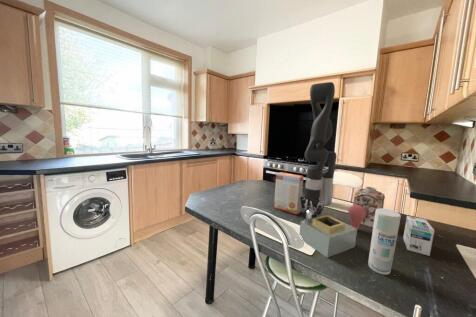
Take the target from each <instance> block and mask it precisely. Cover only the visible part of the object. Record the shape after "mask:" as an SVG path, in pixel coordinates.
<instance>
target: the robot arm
mask: <svg viewBox="0 0 476 317" xmlns="http://www.w3.org/2000/svg"><path fill="white" fill-rule="evenodd" d="M335 91H336V89H335V84H334V82H332V81H327V82H320V83H314V84H311V86H310V88H309V96H310V104H311V108H312V110H311V111H312V116H313V123H312V126H311V129H310V137H309V138H310V139H309V143H308V145H307V146H306V150H305V152H304V159H305V160H306V161H307V162H314V163H316V165H311V166H307V169H306V179H305V182H304V195H302V197H300V199H301V209H303V210H304V214H303V216H304V218H305V219H306V211H307V209H311V210H312V218H314V217H318V216H320V215H321V214H322V212H323V210H324V207H325V206H330V205H331V204H332V202H333V201H332V200H333V192H334V189H333V184H334V174H335V169H336V162H337V153H336V152H335V151H331V150H330V151H329V150H328V149H327V148H325V145H326V143H327V142H328V141H329V140H330V139H331V137H332V136H333V123H332V120H331V119H330V115H331V111H332V109H333V108H332V107H333V102H334V100H335ZM321 103H324V106H323V108H322V107H321V105H320V104H321ZM315 146H316V147H315ZM324 167H327V168H326V169H324ZM314 210H315V211H314Z"/></svg>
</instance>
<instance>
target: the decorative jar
mask: <svg viewBox="0 0 476 317" xmlns="http://www.w3.org/2000/svg"><path fill="white" fill-rule="evenodd" d="M385 199H386V197H385V193H382V192H380V191H378V190H377V188H375V187H372V186H365V187H364V188H358V189H356V191H355V192H354V196H353V201H352V205H360V206H362V207H363V208H364V209H365V211H366V216H365V218H364V219H363V220H362V221H361V224H360V225H363V226H366V227H369V228H372V229H373V226H374V219H375V212H376V209H379V208H382V209H384V206H385Z"/></svg>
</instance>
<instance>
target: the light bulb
mask: <svg viewBox="0 0 476 317" xmlns="http://www.w3.org/2000/svg"><path fill="white" fill-rule="evenodd" d="M347 213H348V216H349V219H350V224H349V225H350V226H352V227H354V228H356V229H357V231H359V229H360V225H362V224H361V221H362V220H363V219H364V218H365V216H366V211H365V209H364V208H363V207H362V206H360V205H353V204H352V205H351V206H349V208H348V209H347Z"/></svg>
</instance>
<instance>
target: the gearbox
mask: <svg viewBox="0 0 476 317" xmlns="http://www.w3.org/2000/svg"><path fill="white" fill-rule="evenodd" d="M357 233H358V230H357V229H356V228H354V227H352V226H350V224H347V223H345V222H344V221H341V220H339V219H337V218H335V217H334V216H331V215H329V214H324V215H318V216H317V217H314V218H310V219H306V218H305V219H303V220H300V225H299V234H300V235H301V236H302V238H303V240H304V241H303V240H302V241H303V243H306V244H307V245H308V246H310V247H311V248H312V249H314V250H315V251H316V252H319V254H321V255H322V256H323V257H326V258H330V257H333V256H335V255H338V254H340V253H344V252H346V251H349V250H351V249H353V248H355V247H356V239H357Z"/></svg>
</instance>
